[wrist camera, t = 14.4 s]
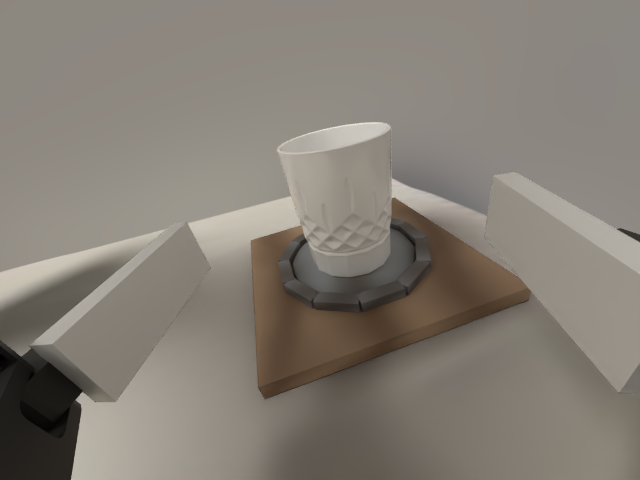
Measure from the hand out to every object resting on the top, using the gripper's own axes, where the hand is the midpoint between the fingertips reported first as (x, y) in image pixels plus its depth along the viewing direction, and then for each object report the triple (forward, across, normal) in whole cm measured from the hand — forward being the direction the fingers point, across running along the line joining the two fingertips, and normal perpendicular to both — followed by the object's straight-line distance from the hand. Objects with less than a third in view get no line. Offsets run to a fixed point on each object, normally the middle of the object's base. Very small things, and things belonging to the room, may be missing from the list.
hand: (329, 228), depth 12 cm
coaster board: (+9, 0, -9) cm, 13 cm away
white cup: (+9, 0, -8) cm, 12 cm away
